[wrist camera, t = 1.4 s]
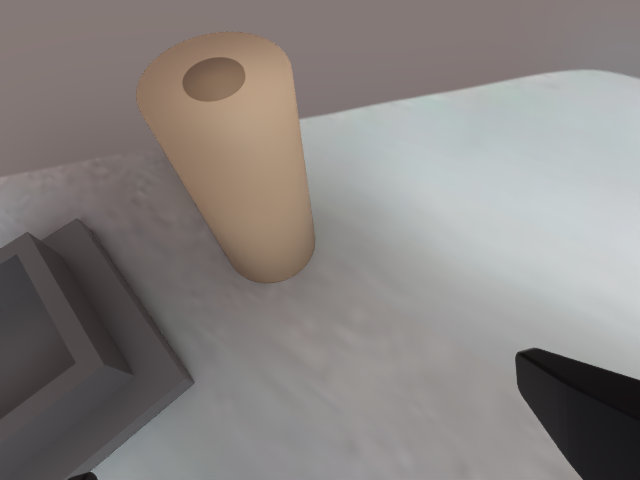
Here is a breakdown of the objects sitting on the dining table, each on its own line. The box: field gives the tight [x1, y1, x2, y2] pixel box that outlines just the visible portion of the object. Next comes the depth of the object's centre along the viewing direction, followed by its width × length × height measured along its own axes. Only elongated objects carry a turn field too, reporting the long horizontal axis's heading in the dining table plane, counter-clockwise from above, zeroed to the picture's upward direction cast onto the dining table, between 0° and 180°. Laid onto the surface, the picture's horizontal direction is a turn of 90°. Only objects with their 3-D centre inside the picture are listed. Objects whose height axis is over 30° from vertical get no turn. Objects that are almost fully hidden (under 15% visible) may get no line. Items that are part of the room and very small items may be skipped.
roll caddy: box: [0, 218, 194, 480], centre depth 21 cm, size 14×14×4 cm
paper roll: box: [136, 32, 315, 283], centre depth 20 cm, size 6×6×13 cm
